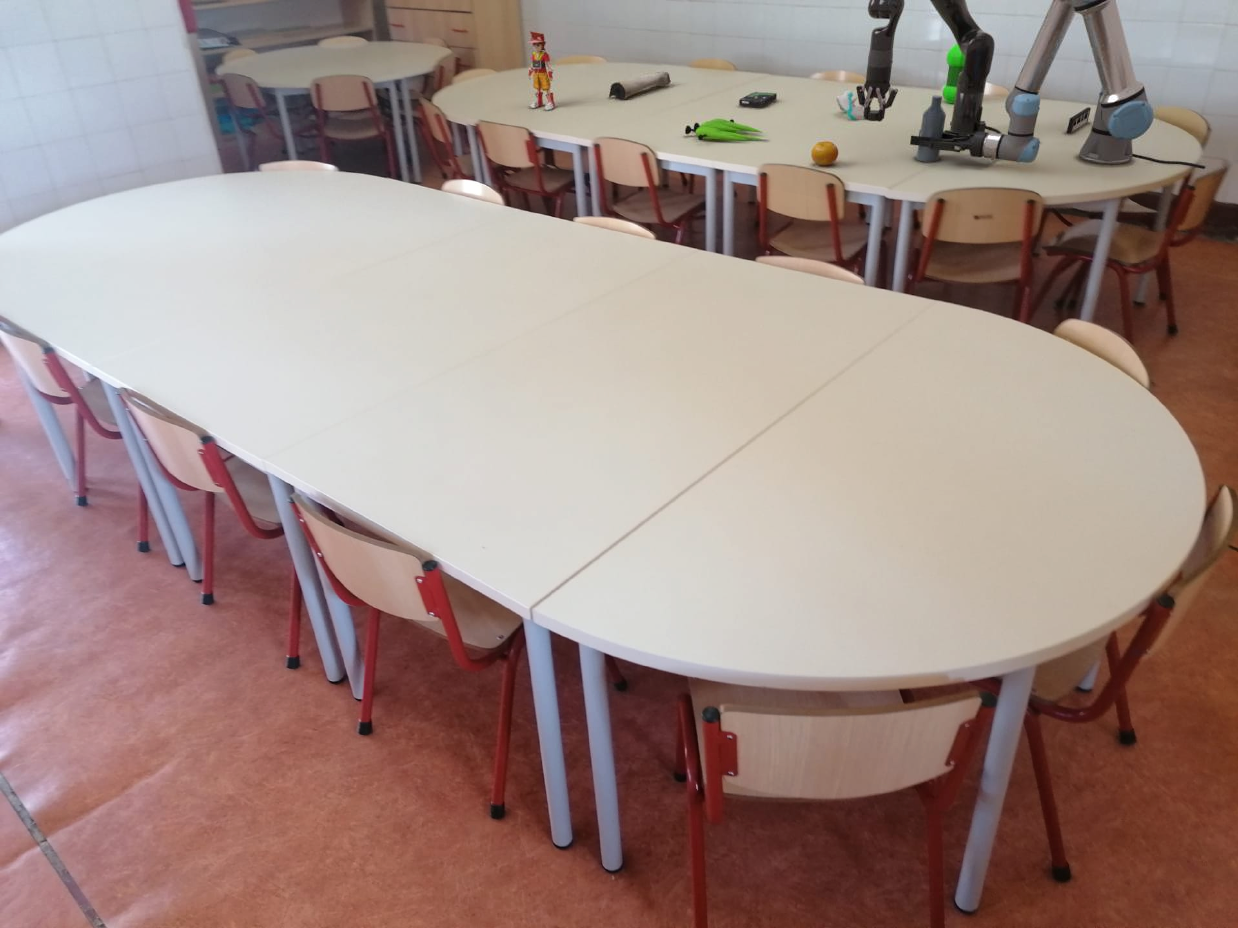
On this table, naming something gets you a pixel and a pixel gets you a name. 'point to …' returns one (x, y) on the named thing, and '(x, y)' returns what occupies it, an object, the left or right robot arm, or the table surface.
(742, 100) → the disk drive
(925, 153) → the bottle
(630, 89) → the rolled mat
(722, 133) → the toy
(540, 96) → the toy
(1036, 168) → the table surface
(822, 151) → the fruit
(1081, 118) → the midi keyboard
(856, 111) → the anatomical model
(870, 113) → the cap
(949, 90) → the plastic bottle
